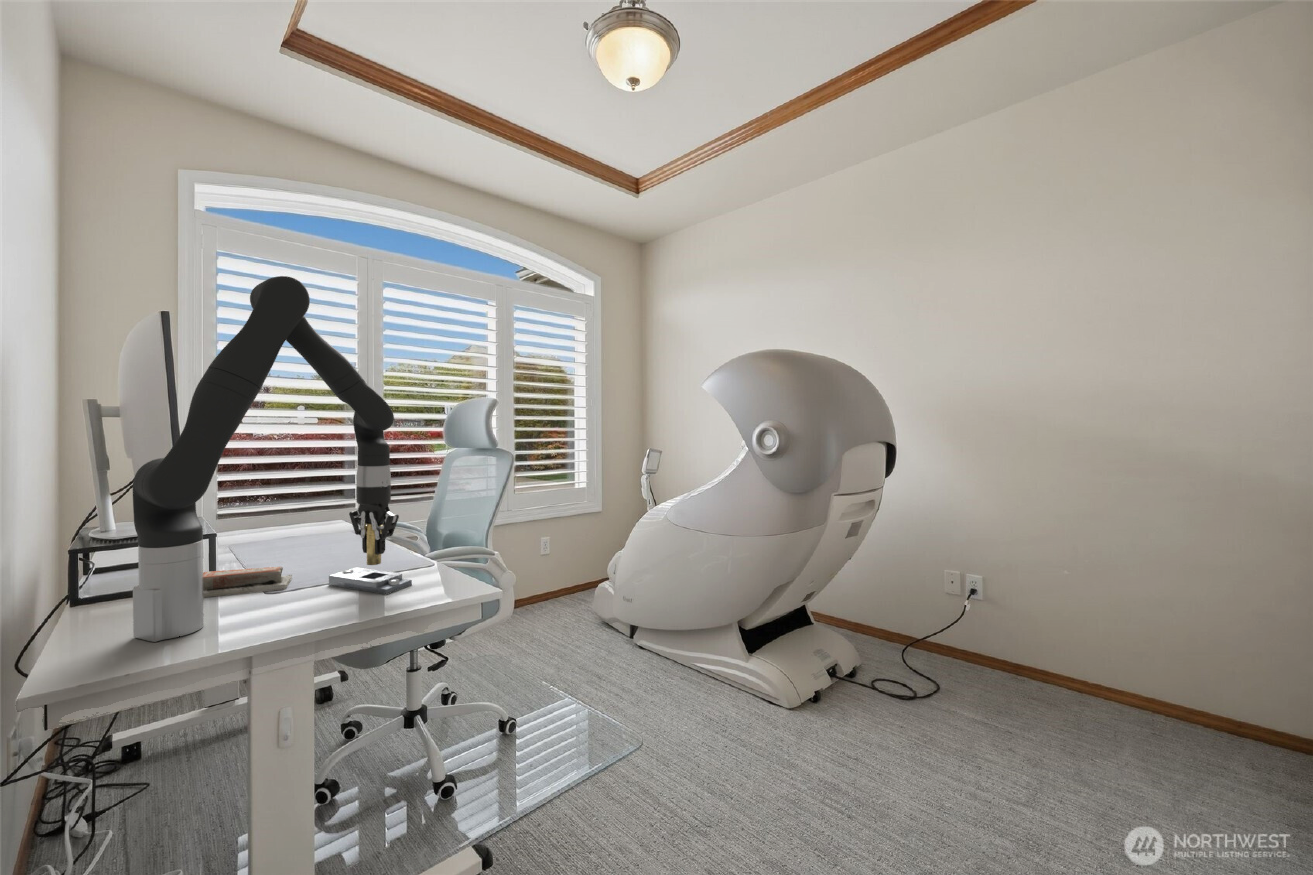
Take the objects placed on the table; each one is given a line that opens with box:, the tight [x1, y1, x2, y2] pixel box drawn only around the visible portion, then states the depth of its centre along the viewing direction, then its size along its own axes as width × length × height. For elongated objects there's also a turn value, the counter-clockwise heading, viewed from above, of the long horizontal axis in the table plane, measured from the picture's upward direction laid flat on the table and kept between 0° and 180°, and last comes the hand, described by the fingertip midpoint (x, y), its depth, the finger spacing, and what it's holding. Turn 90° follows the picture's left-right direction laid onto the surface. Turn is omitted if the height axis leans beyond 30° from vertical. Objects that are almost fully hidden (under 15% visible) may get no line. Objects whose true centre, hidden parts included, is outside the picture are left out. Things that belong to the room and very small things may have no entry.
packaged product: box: [203, 566, 293, 598], centre depth 131 cm, size 18×5×10 cm
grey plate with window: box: [328, 566, 413, 595], centre depth 135 cm, size 8×18×3 cm, turn 71°
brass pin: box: [366, 524, 382, 566], centre depth 135 cm, size 3×3×10 cm
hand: (373, 552), depth 135 cm, fingers closed on brass pin, 3 cm apart
